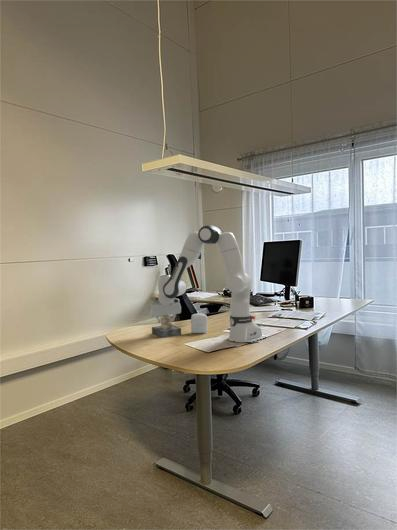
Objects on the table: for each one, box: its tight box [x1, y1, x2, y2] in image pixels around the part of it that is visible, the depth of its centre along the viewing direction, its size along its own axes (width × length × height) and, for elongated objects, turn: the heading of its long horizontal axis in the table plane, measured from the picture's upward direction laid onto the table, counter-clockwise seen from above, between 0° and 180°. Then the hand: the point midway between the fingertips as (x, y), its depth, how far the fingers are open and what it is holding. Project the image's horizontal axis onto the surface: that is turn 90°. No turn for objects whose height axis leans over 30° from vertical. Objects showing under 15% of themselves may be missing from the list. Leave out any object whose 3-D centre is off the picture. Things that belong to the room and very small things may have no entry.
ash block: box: [160, 316, 173, 329], centre depth 224 cm, size 5×5×6 cm
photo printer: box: [190, 313, 208, 334], centre depth 226 cm, size 10×4×12 cm, turn 84°
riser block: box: [151, 323, 182, 339], centre depth 225 cm, size 14×14×4 cm
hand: (166, 322), depth 224 cm, fingers open, 8 cm apart
